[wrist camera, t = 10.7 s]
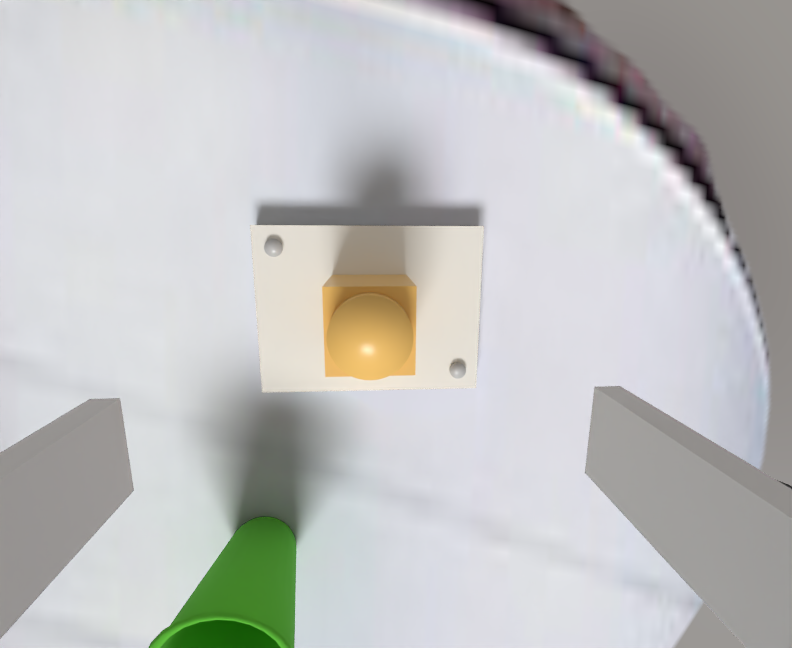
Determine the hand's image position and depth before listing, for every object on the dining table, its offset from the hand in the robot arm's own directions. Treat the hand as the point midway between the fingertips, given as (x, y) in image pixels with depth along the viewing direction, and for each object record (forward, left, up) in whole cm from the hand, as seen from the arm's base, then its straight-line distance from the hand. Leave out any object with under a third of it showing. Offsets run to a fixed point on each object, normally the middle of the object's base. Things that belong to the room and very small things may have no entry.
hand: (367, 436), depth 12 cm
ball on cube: (0, 0, -19) cm, 19 cm away
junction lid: (0, 0, -20) cm, 20 cm away
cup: (-9, -20, -20) cm, 30 cm away
